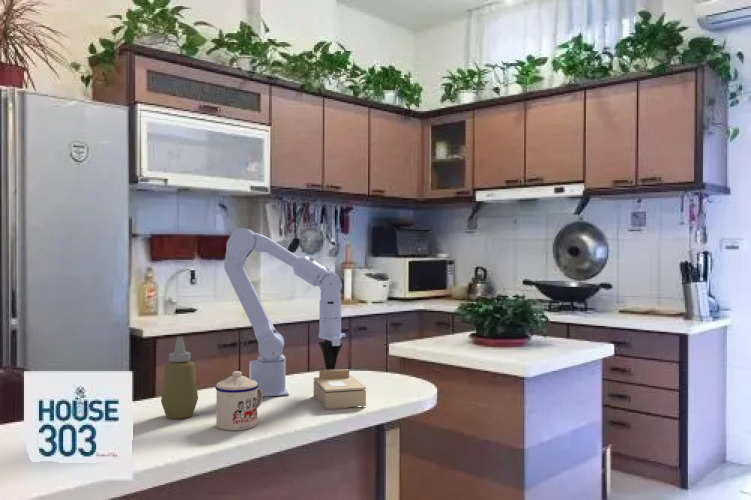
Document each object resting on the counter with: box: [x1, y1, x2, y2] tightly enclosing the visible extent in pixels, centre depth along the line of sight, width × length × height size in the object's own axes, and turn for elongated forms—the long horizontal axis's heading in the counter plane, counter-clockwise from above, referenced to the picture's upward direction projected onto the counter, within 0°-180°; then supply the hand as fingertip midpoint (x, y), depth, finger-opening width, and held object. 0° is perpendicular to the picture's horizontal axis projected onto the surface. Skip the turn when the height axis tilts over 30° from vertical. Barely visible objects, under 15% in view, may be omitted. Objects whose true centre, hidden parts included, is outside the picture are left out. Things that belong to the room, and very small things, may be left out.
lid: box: [313, 368, 367, 392], centre depth 158 cm, size 14×10×2 cm
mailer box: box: [313, 380, 367, 411], centre depth 158 cm, size 14×10×4 cm
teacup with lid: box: [214, 370, 263, 432], centre depth 138 cm, size 12×9×12 cm
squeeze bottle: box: [160, 336, 199, 420], centre depth 144 cm, size 8×8×18 cm
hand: (330, 369), depth 168 cm, fingers closed
